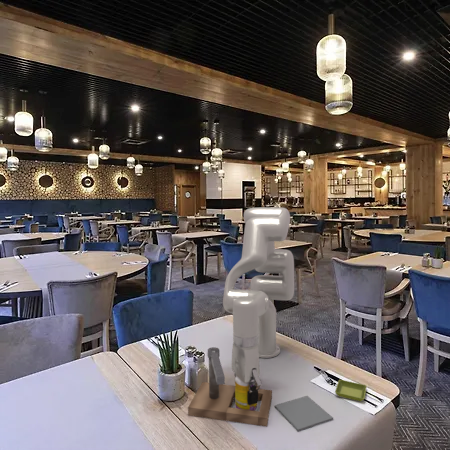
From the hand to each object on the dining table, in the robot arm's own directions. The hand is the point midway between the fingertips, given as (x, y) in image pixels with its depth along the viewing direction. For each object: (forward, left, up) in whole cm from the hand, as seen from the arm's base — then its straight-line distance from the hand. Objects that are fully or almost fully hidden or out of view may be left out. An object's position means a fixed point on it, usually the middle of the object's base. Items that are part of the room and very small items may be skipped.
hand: (246, 395), depth 103 cm
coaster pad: (+9, +14, -4) cm, 17 cm away
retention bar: (+1, -10, +11) cm, 15 cm away
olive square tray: (+7, +34, -5) cm, 35 cm away
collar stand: (-3, -4, -4) cm, 6 cm away
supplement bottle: (0, 0, -4) cm, 4 cm away
